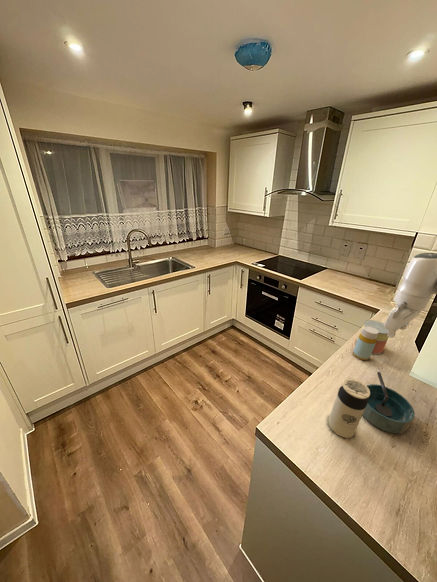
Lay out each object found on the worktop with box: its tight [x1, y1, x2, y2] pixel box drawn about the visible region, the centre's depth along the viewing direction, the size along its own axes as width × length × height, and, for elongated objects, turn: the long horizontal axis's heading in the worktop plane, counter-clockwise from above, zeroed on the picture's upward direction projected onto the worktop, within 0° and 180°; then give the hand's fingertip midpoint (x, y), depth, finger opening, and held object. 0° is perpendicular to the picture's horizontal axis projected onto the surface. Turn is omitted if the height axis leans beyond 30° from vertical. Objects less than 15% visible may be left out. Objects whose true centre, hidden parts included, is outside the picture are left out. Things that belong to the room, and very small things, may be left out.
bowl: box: [362, 383, 416, 434], centre depth 82 cm, size 15×15×6 cm
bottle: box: [352, 326, 379, 361], centre depth 108 cm, size 7×7×15 cm
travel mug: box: [327, 377, 370, 439], centre depth 74 cm, size 8×8×18 cm
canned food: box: [360, 319, 390, 355], centre depth 115 cm, size 11×11×12 cm
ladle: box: [374, 371, 393, 418], centre depth 86 cm, size 5×17×7 cm, turn 159°
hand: (396, 332), depth 86 cm, fingers open, 8 cm apart
